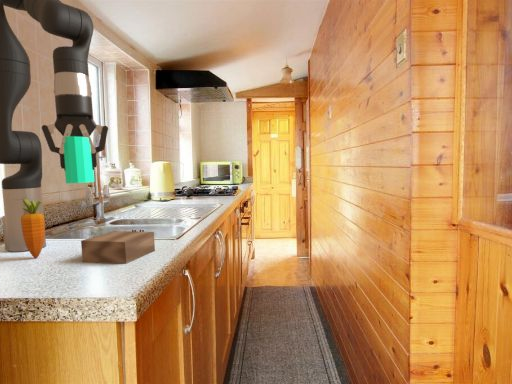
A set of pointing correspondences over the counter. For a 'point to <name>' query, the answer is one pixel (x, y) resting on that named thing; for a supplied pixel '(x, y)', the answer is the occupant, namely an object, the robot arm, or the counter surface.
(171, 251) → the counter surface
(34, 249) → the carrot
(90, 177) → the candle
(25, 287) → the counter surface
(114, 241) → the walnut stand
